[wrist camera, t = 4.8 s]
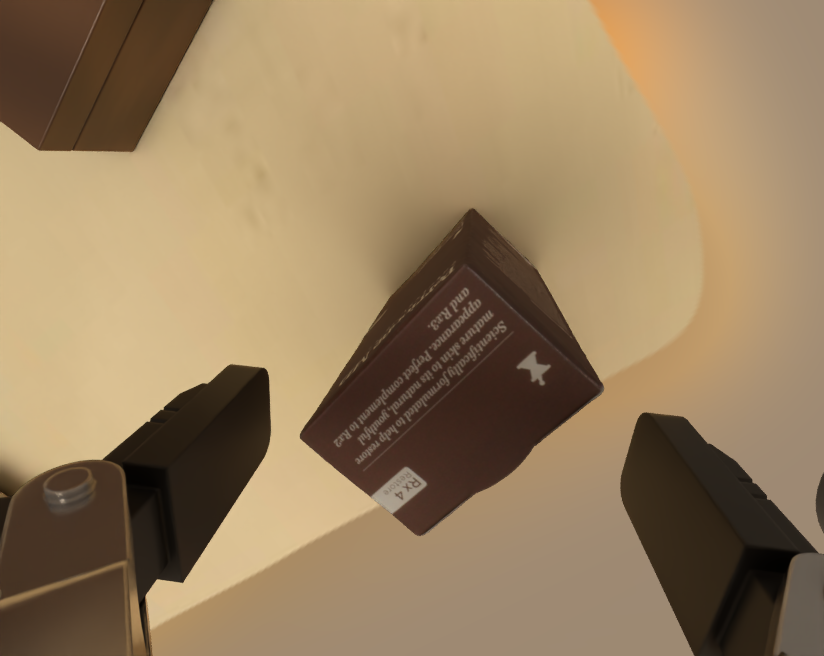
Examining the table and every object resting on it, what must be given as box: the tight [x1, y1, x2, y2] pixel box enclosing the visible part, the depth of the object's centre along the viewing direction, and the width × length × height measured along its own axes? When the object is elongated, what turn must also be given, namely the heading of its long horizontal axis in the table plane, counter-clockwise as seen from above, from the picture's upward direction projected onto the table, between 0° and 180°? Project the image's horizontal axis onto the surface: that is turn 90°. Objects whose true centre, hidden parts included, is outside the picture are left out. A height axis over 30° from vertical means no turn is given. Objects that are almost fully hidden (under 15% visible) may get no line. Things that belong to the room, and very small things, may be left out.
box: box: [300, 208, 604, 536], centre depth 16 cm, size 6×4×12 cm
